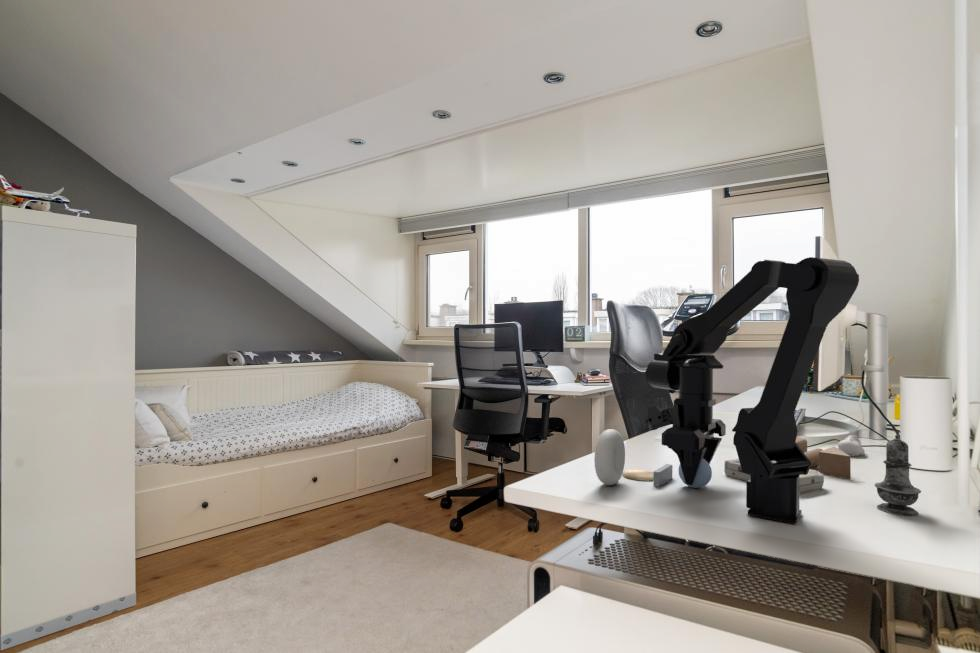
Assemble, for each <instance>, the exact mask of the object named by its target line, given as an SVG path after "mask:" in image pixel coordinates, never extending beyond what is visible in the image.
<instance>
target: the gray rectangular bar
mask: <svg viewBox="0 0 980 653" xmlns="http://www.w3.org/2000/svg"><path fill="white" fill-rule="evenodd" d="M653 472H654V475H653V481H652V482H653V486H656V487H660V486H661V485H663V483H664V484H665V483H667V482H669V481H671V479H673V464H669V463H666V464H665V465H663V466H661V467H659V468H657V469H655V470H653Z"/></svg>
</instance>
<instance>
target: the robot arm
mask: <svg viewBox="0 0 980 653" xmlns="http://www.w3.org/2000/svg"><path fill="white" fill-rule="evenodd" d="M859 282H860V275H859V274H858V273H857V270H856V269H855V266H853V265H852V264H851V263H850V262H849V261H846V260H842V259H841V260H840V259H832V258H831V259H830V258H821V257H812V256H811V257H810V256H809V257H806V258H803V259H802V260H801V259H800V261H798V262H795V263H790V262H785V261H783V260H782V261H781V260H772V259H761V260H759V261H756V262H755V263H754V264H753V265H752V266H751V269H750V271H749V272H747V273H746V274H745V275H744V276H743V277H742V278H741V279H740V280H739V281H738V282H736V283H735V285H733V286H732V287H731V288H730V289H728V291H726V292H725V293H724V294H723V295H722V296H721V297H720V298H719V299H718V300H717V301H716V302H714V304H712V305H711V306H710V307H709V308H708V309H706V310H705V311H704V312H702V313H699V314H696V315H693V316H691V317H690V316H689V317H688V318H687V319H686V320H684V321H682V322H681V323H678V325H676V326H675V328H674V330H673V332H672V333H673V334H672V336H671V338H670V340H669V342H668V343H667V346H666V348H665V349H664V350H663V352H662V353H660V352H659V353H657V352H656V353H654V354H653V355H654V356H653V360H651V361H650V362H649V363H648V365H647V367H646V370H645V375H644V376H645V379H646V382H647V383H648V384H649V385H650V386H651V387H652V388H655V389H656V388H657V389H662V390H663V389H664V390H671V391H678V397H676V398H675V399H674V400H673V406H670V407H666V408H663V409H662V408H661V406H660V405H654V406H651V407H647V410H646V413H645V414H644V416H645V419H644V422H645V424H648V425H649V428H650V430H651V431H656V430H658V429H660V428H664V427H666V426H670V425H672V426H671V427H669V428H666V429H665V430H664V431H663V432H662V433H661V445H662V446H664V447H665V446H666V447H667V448H668V449H671V450H672V452H674V453H675V454H676V455H677V457H678V462H679V465H681V468H682V472H683V476H684V479H685V483H686V484H687V485H686V484H685V483H684V484H685V485H686V486H688V485H693V483H694V480H695V478H696V475H697V472H698V470H699V467H700V464H701V461H702V459H705V460H706V461H707V462H708V463H709V465H711V462H712V460H713V458H714V455H715V454H716V452H717V449H718V447H720V446H719V445H720V444H721V442H722V440H723V438H722V437H725V436H726V434H727V433H726V426H727V425H726V424H725V423H724V422H723V420H722V419H720V418H719V419H718V418H713V417H714V416H713V412H714V410H713V408H714V406H715V405H716V404H717V403H716V402H717V399H716V398H714V397H713V396H714V393H713V392H714V388H713V387H714V370H721V369H724V365H723V363H722V362H720V361H719V360H718V359H717V358H716V357H715V355H713V354H715V353H717V351H718V350H719V348H720V347H721V346H723V344H724V343H725V342H726V340H727V337H728V334H729V331H730V330H731V329H732V328H733V327H734V326H735V325H736V324H737V323H738V322H740V321H742V319H743V318H744V317H747V315H748V314H749V313H750V312H752V311H753V310H754V309H755V308H757V307H758V306H759V305H760V304H762V302H764V301H765V300H766V299H767V298H769V297H770V296H771V295H772V294H773V293H774V292H775V291H777V290H778V289H779V288H782V289H784V288H785V289H786V293H785V299H786V302H787V307H788V312H789V316H788V319H787V323H786V325H785V328H784V331H783V334H782V337H781V339H780V342H779V346H778V347H777V350H776V354H775V356H774V360H773V362H772V365H771V368H770V370H769V373H768V376H767V379H766V383H765V385H764V388H763V391H762V393H761V396H760V399H759V401H758V402H757V404H756V405H755V406H753V407H742V408H740V410H739V412H738V415H737V420H736V424H734V425H735V426H733V428H731V431H732V432H734V434H733V443H732V444H733V446H734V447H735V450H736V453H737V456H738V457H737V459H739V461H740V465H741V469H742V472H743V473H746V474H749V475H750V479H749V480H748V481H745V482H746V483H745V484H746V485H745V486H746V489H745V490H746V491H745V492H746V498H745V499H746V502H745V504H746V505H745V506H746V508H747V509H748V510H747V515H748V516H751V517H757V518H762V519H768V520H773V521H778V522H783V523H790V524H797V523H798V521H799V519H800V518H801V515H802V514H803V513H802V512H803V511H802V509H800V493H799V486H800V475H807V474H808V472H809V469H811V468H810V466H811V462H810V460H809V459H808V458H807V457H806V455H805V454H804V453H803V451H802V450H801V449H800V448H799V446H798V445H797V444H796V443H795V442H796V437H798V426H797V420H796V416H795V412H796V409H797V406H798V404H799V401H800V398H801V396H802V393H803V391H804V387H805V384H807V380H808V377H809V374H810V371H811V369H812V366H813V364H814V362H815V358H816V356H817V353H818V351H819V348H820V346H821V342H822V340H823V337H824V335H825V332H826V329H827V327H828V325H829V324H830V323H831V322H832V321H833V320H834V319H835V318H836V317H837V316H838V315H840V313H841V312H842V311H843V310H844V309H846V307H847V306H848V305H849V304H848V303H849V302H850V300H851V299H852V297H853V295H854V293H855V292H856V290H857V289H858V286H859ZM714 434H717V435H718V437H716V436H715V435H714ZM771 461H776V462H777V463H772V462H771Z"/></svg>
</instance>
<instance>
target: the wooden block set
mask: <svg viewBox="0 0 980 653" xmlns="http://www.w3.org/2000/svg"><path fill="white" fill-rule="evenodd" d="M795 443H796V444H797V445H798V446H799V448H800V449H801V450H802V451H803V453H804V454H805V455H806V457H807V458H808V459H809V460H810V462H811V466H810V469H812V468H814V467H817V466H818V472H820V473H821V474H823V475H826V476H827V475H828V476H831V477H837V478H843V479H848V480H849V479H851V476H852V475H851V474H852V473H851V456H849V455H848V454H846V453H844V452H843V451H841V450H840V449H838V447H837V446H832V447H827V448H826V449H823V448H819V447H817V448H814V449H811V450H808V440H807V439H805V438H803V437H799V436H797V437H796V442H795Z"/></svg>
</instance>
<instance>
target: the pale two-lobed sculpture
mask: <svg viewBox="0 0 980 653" xmlns="http://www.w3.org/2000/svg"><path fill="white" fill-rule="evenodd" d="M837 448H838V449H840V450H841V451H843V452H844V453H846V454H848V455H849V456H850V457H859V456H860V455H862V454H863V455H864V454H865V453H866V452H865V451H866V450H865V449H864V448H863V447H862V441H861V440H860V438H859V437H858V436H856V435H854V434H851V435H847V436H846V437H845V439H842V440H840V441H839V442H837Z"/></svg>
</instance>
